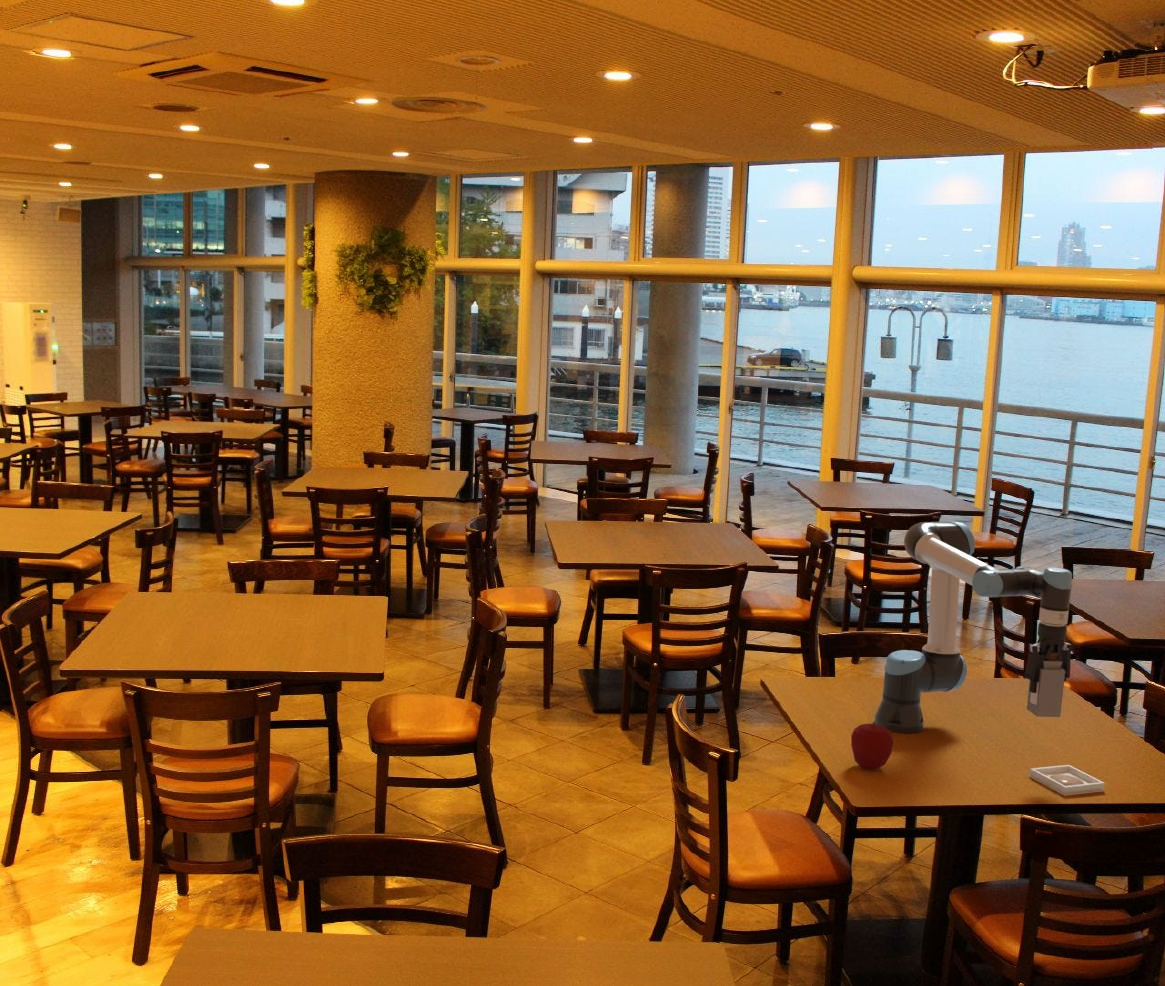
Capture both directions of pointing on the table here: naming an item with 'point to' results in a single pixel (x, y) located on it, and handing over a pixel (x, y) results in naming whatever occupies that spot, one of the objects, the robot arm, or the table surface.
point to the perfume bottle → (1049, 689)
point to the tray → (1067, 780)
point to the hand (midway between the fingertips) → (1044, 702)
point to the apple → (871, 745)
